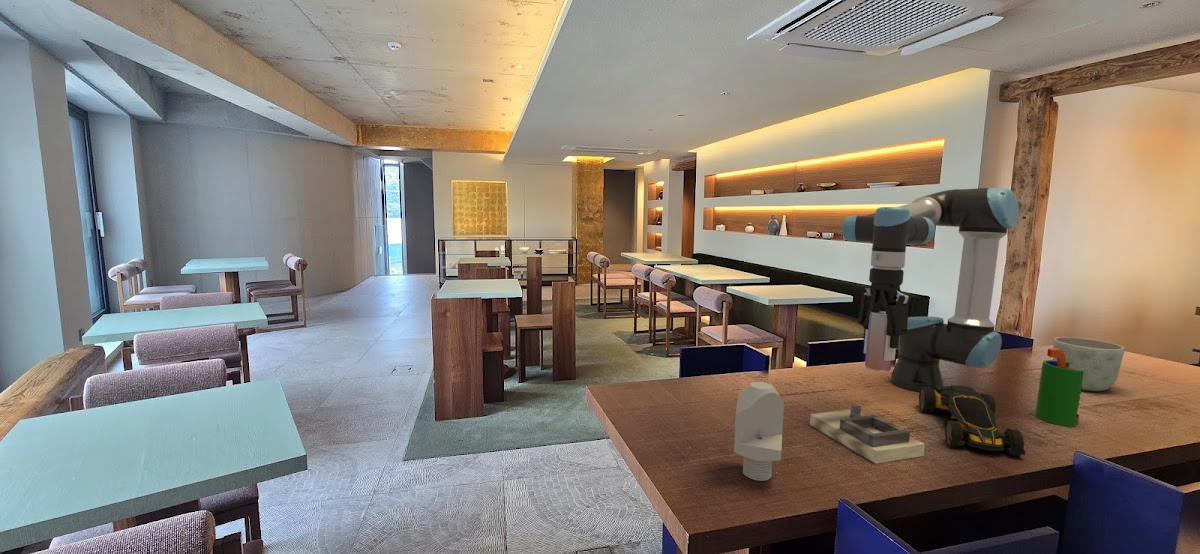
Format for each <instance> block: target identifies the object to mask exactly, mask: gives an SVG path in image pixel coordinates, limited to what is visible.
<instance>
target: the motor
mask: <svg viewBox="0 0 1200 554" xmlns="http://www.w3.org/2000/svg"><path fill="white" fill-rule="evenodd" d="M1046 355H1047V357H1049V358H1053V357H1057V361H1056V360H1053V359H1047V360H1042V365H1041V371H1040V372H1041V373H1040V379H1039V385H1038V393H1037V399H1036V407H1035V414H1034V415H1035V416H1036V418H1038V419H1039V420H1042V421H1045V422H1047V423H1050V424H1053V425H1059V426H1061V427H1062V426H1064V427H1069V428H1075V427H1076V426H1078V425H1079V420H1080V415H1079V414H1078V411H1079V407H1080V401H1081V394H1082V390H1081V388H1082V382H1083V376H1084V371H1080V370H1076V369H1071V368H1069V362H1066V359H1065V354H1064V353H1063V351H1061V350H1059V349H1056V348H1053V347H1052V348H1048V349H1047V354H1046Z"/></svg>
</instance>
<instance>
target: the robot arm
mask: <svg viewBox="0 0 1200 554" xmlns="http://www.w3.org/2000/svg"><path fill="white" fill-rule="evenodd" d="M1019 211H1020V208H1019V202H1018V198H1017V197H1016V195H1015V193H1014V192H1013V190H1011V189H1009V188H1006V187H981V188H961V189H959V188H953V189H949V190H948V189H947V190H946V189H945V190H941V191H939V192H935V193H931V194H927V195H924V196H920V197H917V198H916V199H914V200H913V201H912V202H911V203H907V204H903V205H900V206H880V207H878V208H877V209H876V210H875V212H874V213H870V214H866V215H859V214H858V215H857V214H856V215H849V216H847V217H846V218H845V219H844V220H843V221H842V225H841V235H842V237H843V239H844V240H845V241H848V242H852V243H853V242H854V243H871V244H872V247H871V256H870V265H871V267H870V269H869V276H868V277H869V278H868V281H869V282H870V283H871V284H870V286H869V287H868V288H867V287H864V288H860V297H861V298H860V306H859V313H858V320H857V324H858V325H859V326H860V325H861V326H862V327H863V340H864V342H863V343H864V344H863V345H864V346H863V354H865V355H866V347H867V336H868V325H869V315H870V313H871V311H872V312H879V311H881V308H882V307H883V309H884V311H886V314H887V323H888V330H889V333H888V334H887V335H886V341H885V352H884V360H885V361H890V360H892V361H895V360H896V351H897V350H896V349H898V357H897V361H896V362H895V365H894V367H893V369H892V371H891V372H890V378H889V380H890V383H892V384H893V385H895V386H897V387H899V388H902V389H906V390H910V391H916V392H920V389H921V387H930V388H932V389H933V390H935V389H936V385H943V386H942V387H945V386H944V385H945V381H944V380H943V376H942V371H941V367H940V360H941V361H944V362H949V363H954V364H957V365H962V366H966V367H967V368H970V367H971V368H975V369H987V368H988V367H990V366H992V365H993V364H994V362H995V361H996V360H997V358H998V356H999V354H1000V351H1001V348H1002V344H1003V343H1002V341H1003V340H1002V335H1001V334H1000V333H999V332H998V331H995V324H994V322H992V321H991V320H990V314H991V309H992V308H991V307H992V300H993V291H994V283H995V278H996V276H995V275H996V269H997V260H998V256H999V255H998V253H999V246H1000V240H1001V239H1002V238H1004V237H1005V236H1007V235H1008V229H1012V228H1014V227H1015V226H1016V225H1017V223H1018V220H1019V216H1020V215H1019V214H1020V212H1019ZM937 226H938V227H939V226H940V227H954V228H955V227H958V234H959V235H960V236H961V237H962V238H963V243H962V251H961V259H960V268H959V275H958V284H957V293H956V300H955V308H954V315H953V316H951V317H949V318H948V319H947V323H945V321H944V320H945V319H944V318H943V317H938V316H909V304H910V302H911V299H912V298H911V297H912V296H911V295H909V294H904V293H902V291H901V285H902V284H903V282H904V273H905V271H904V270H903V269H904V268H905V263H906V251H907V245H908V246H910V245H912V246H919V245H924V244H927V243H929V242H930V241H931V240H932V239H933V238H934V236H935V235H936V234H935V233H936V227H937ZM894 329H895V331H894Z"/></svg>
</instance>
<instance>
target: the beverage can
mask: <svg viewBox="0 0 1200 554" xmlns="http://www.w3.org/2000/svg"><path fill="white" fill-rule="evenodd" d="M894 331H895V329H894ZM888 333H889V330H888V323H887V314H886V311H885V310H880V311H879V312H872V311H871V313H870V315H869V325H868V336H867V347H866V354H865V360H864V366H865V368H866V369H868V370H870V371H873V372H878V373H888V372H889V371H891V370H892V362H893V360H890V361H885V360H884V352H885V341H886V335H887V334H888Z"/></svg>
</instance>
